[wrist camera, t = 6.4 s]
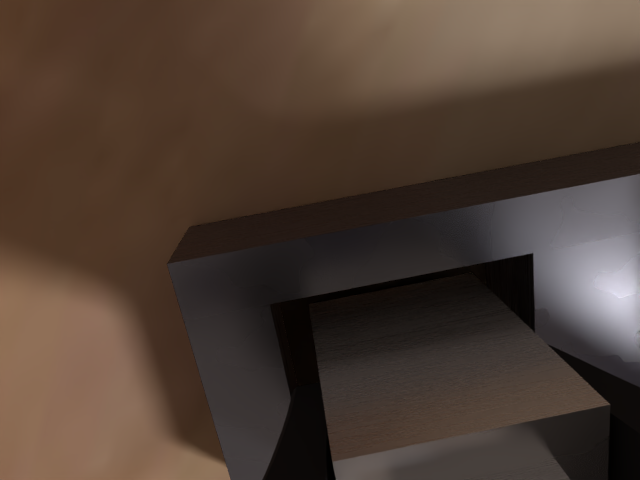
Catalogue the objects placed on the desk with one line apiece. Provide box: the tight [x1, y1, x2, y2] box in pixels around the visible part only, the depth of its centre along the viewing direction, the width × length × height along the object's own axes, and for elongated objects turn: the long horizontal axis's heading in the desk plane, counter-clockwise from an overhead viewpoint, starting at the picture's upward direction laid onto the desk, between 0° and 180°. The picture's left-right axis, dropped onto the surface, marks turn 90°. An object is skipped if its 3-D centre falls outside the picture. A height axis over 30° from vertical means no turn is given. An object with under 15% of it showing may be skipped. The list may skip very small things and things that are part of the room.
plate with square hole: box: [167, 142, 640, 480], centre depth 12 cm, size 18×8×2 cm, turn 99°
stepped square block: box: [309, 273, 610, 480], centre depth 9 cm, size 4×4×6 cm
